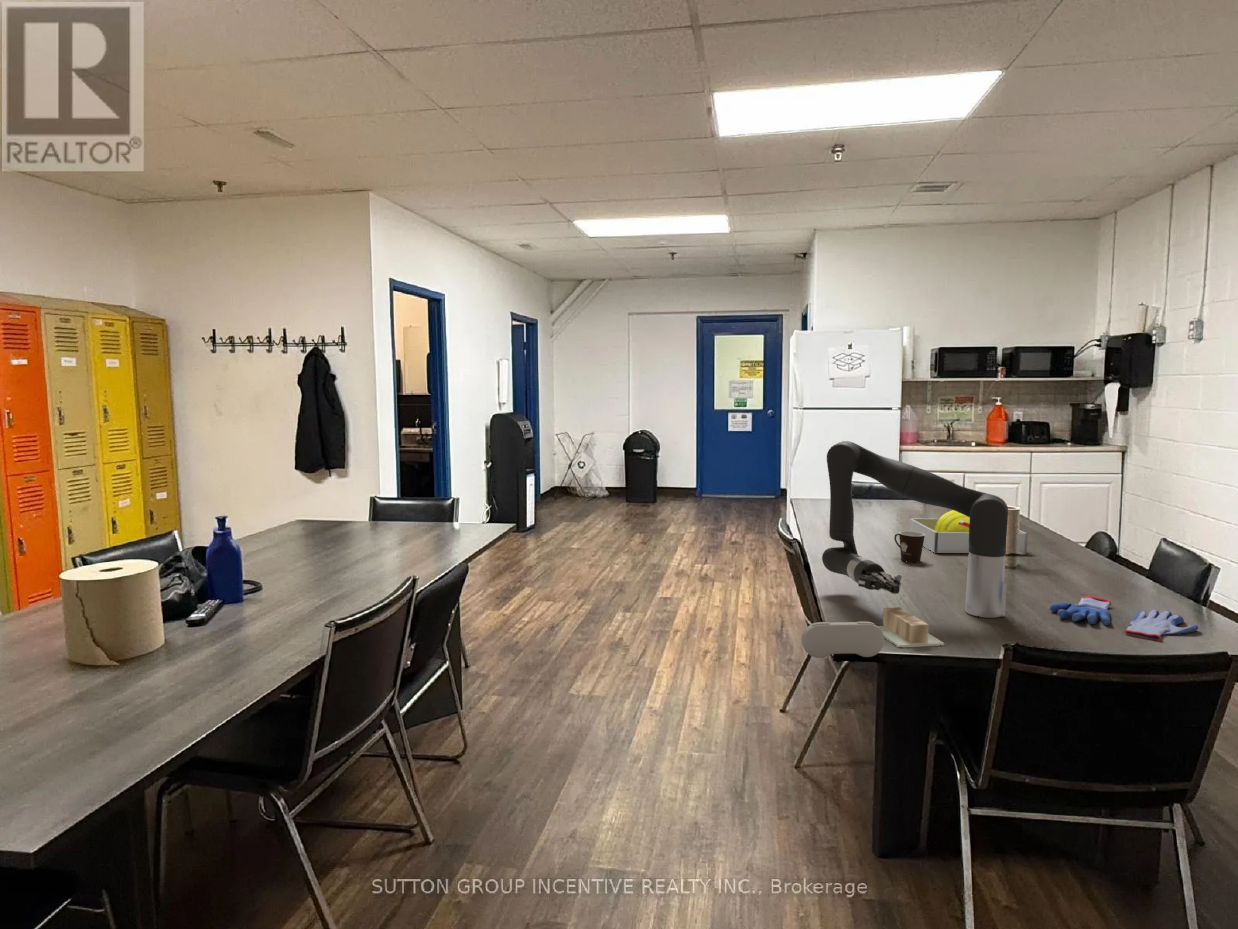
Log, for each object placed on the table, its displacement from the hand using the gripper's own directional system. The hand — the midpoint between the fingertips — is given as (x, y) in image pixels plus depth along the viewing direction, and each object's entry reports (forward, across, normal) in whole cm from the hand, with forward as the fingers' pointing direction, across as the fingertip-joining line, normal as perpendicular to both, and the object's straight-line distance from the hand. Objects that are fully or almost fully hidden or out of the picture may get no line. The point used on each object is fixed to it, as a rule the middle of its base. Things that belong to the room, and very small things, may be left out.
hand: (896, 590), depth 194 cm
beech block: (-2, 0, +8) cm, 8 cm away
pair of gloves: (+2, +65, +11) cm, 66 cm away
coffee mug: (-68, +43, +11) cm, 81 cm away
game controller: (+16, -22, +11) cm, 29 cm away
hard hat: (-86, +73, +11) cm, 113 cm away
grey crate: (-87, +76, +10) cm, 116 cm away
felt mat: (+6, 0, +10) cm, 12 cm away
